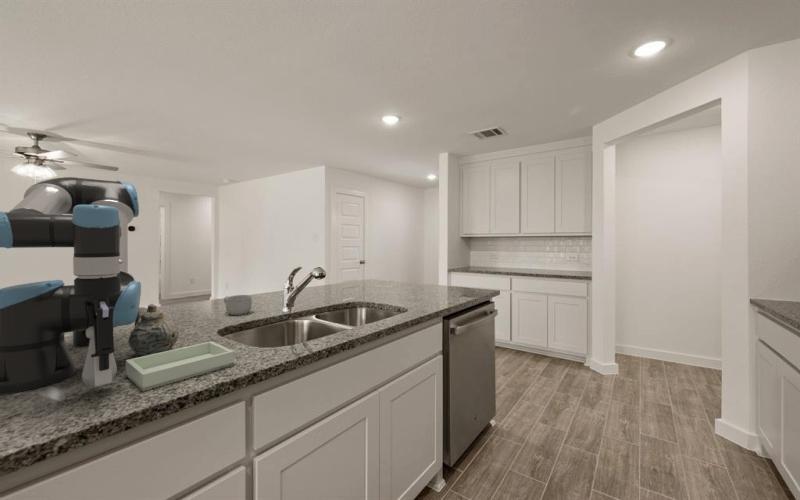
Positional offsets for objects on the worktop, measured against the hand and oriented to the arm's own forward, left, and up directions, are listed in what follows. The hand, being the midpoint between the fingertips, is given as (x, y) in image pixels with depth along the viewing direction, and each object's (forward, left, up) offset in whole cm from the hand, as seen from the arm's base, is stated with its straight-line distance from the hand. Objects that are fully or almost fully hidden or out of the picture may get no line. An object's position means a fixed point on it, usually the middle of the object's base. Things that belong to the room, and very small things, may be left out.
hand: (99, 379), depth 73 cm
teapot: (+15, +19, -3) cm, 24 cm away
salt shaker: (0, 0, -1) cm, 1 cm away
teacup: (+56, +54, -3) cm, 78 cm away
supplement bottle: (+5, +47, -3) cm, 47 cm away
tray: (+16, 0, -3) cm, 16 cm away
